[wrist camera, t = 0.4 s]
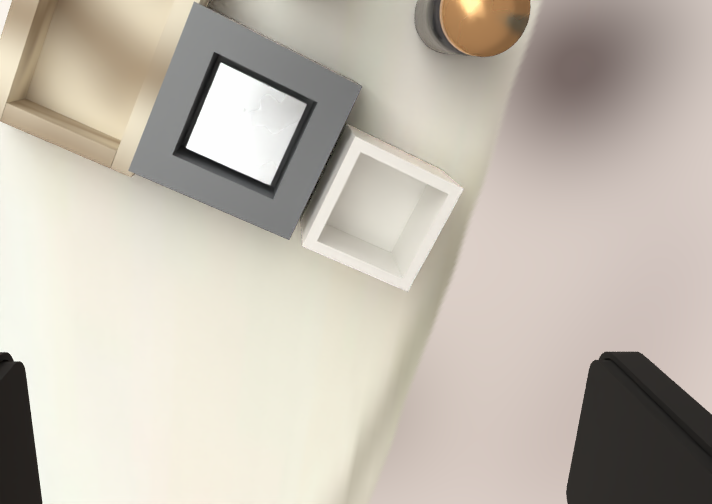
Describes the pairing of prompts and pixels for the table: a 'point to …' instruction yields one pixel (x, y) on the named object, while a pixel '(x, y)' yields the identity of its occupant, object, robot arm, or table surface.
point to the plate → (245, 124)
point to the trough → (88, 71)
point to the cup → (378, 209)
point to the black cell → (471, 25)
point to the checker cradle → (187, 96)
